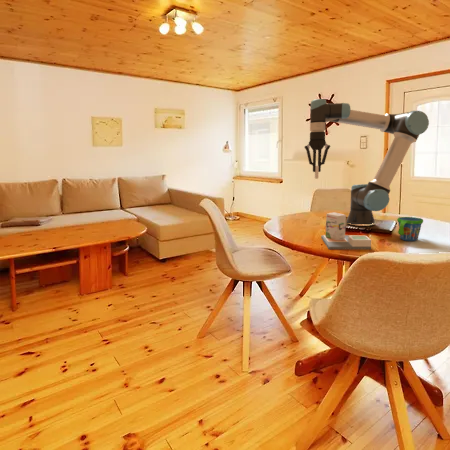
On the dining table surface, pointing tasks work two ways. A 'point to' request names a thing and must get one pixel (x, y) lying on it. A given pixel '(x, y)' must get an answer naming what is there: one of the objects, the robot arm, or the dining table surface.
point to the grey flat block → (347, 242)
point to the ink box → (335, 226)
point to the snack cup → (409, 228)
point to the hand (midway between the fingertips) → (316, 178)
